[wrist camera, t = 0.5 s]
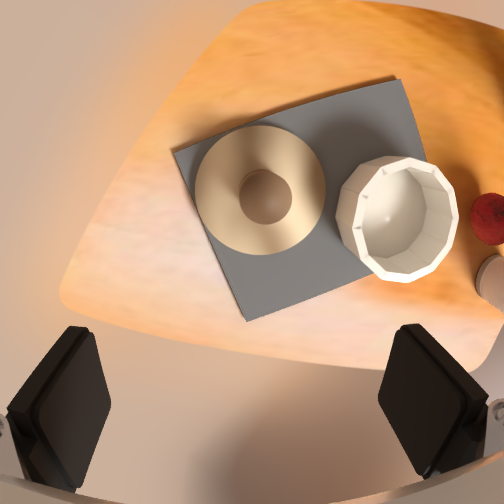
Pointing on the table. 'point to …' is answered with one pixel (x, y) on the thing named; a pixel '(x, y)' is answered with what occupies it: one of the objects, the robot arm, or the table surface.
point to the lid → (260, 190)
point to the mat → (336, 174)
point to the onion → (489, 218)
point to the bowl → (398, 217)
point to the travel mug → (492, 281)
